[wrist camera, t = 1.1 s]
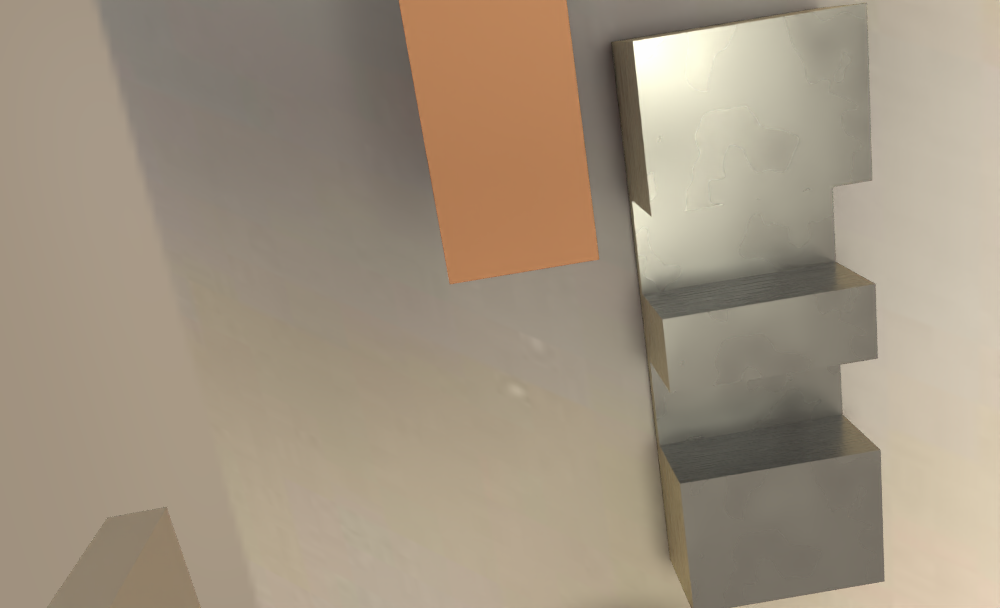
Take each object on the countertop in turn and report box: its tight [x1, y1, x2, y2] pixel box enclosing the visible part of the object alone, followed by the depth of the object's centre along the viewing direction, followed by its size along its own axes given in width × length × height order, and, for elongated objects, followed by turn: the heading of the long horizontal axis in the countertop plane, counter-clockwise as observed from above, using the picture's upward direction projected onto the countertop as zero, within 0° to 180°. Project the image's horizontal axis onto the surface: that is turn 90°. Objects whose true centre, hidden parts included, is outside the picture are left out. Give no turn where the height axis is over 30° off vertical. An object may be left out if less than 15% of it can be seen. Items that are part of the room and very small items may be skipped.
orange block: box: [399, 0, 599, 284], centre depth 24 cm, size 9×4×10 cm, turn 9°
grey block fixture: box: [611, 3, 884, 608], centre depth 30 cm, size 20×7×4 cm, turn 9°
